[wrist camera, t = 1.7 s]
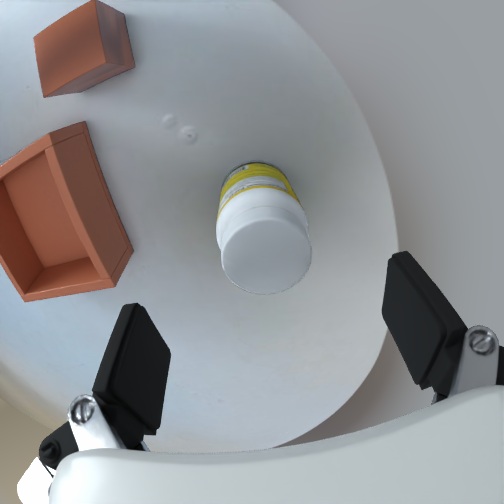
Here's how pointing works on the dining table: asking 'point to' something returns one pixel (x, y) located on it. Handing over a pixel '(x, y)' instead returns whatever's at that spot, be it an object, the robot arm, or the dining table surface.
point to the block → (82, 49)
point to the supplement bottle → (262, 230)
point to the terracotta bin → (59, 219)
